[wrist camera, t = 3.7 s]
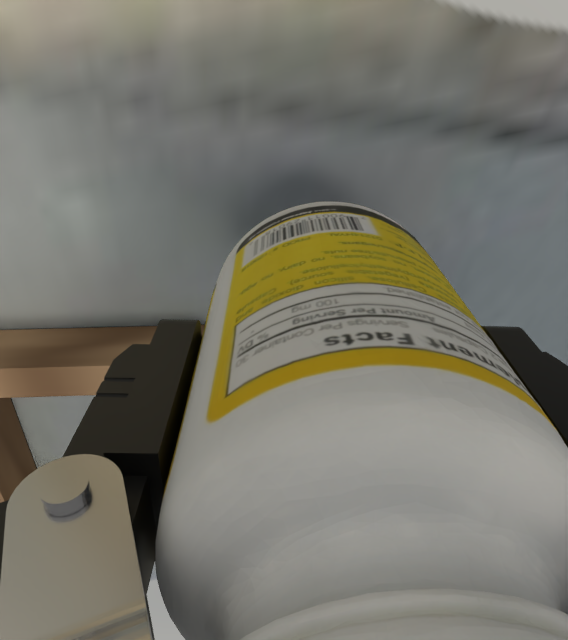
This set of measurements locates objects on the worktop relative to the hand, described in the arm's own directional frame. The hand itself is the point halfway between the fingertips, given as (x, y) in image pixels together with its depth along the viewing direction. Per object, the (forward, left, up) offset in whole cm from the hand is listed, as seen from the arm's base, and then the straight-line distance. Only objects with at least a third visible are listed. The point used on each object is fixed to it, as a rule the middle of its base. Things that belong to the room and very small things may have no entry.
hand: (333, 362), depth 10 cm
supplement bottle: (0, 0, -3) cm, 3 cm away
